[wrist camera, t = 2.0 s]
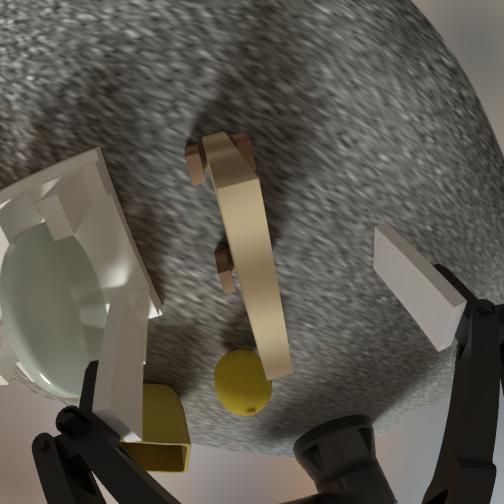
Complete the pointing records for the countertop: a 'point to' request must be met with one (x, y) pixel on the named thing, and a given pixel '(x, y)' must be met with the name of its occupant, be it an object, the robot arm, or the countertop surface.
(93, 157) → the dish rack
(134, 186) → the countertop surface
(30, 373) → the sage plate
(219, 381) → the lemon
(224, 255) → the board stand
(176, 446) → the flower pot
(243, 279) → the bamboo board
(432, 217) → the countertop surface
